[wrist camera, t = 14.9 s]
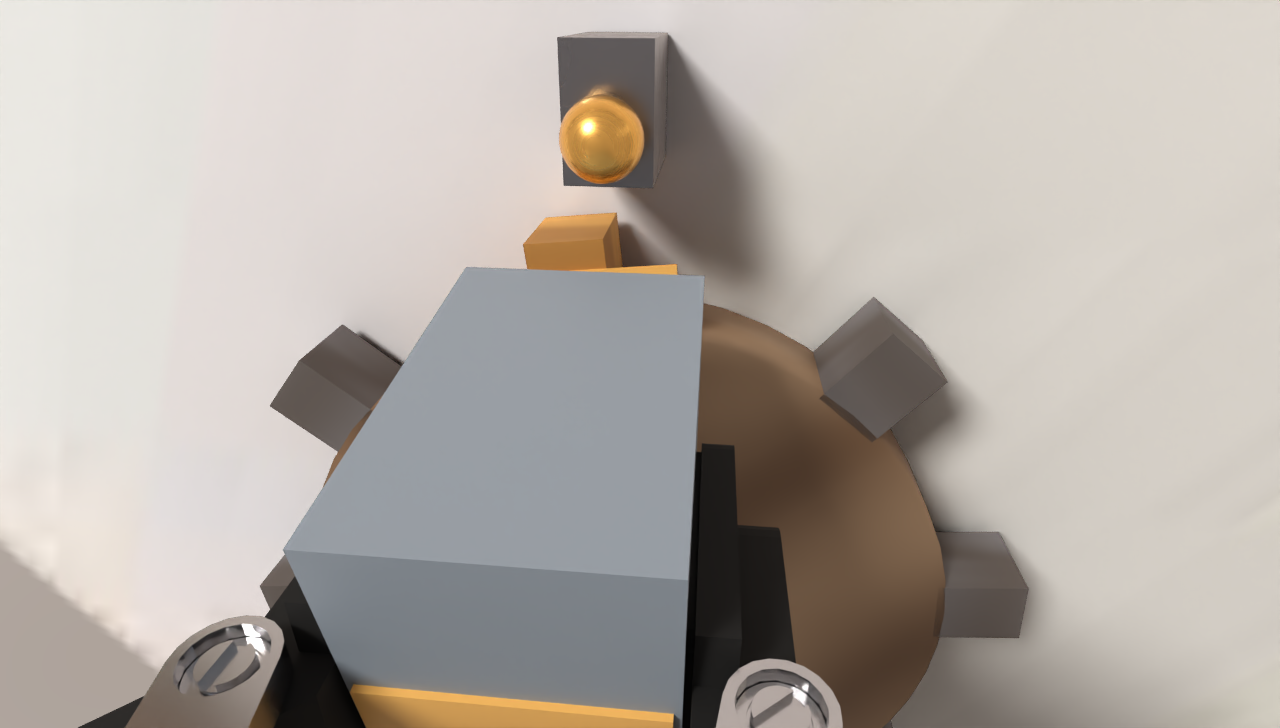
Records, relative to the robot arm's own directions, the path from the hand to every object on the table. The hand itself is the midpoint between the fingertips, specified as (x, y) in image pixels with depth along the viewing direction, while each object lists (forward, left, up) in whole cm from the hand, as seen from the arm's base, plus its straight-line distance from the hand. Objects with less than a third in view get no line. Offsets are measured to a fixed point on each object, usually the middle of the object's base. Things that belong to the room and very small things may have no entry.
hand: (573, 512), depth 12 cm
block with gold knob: (+6, 0, -6) cm, 9 cm away
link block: (+1, 0, -2) cm, 2 cm away
